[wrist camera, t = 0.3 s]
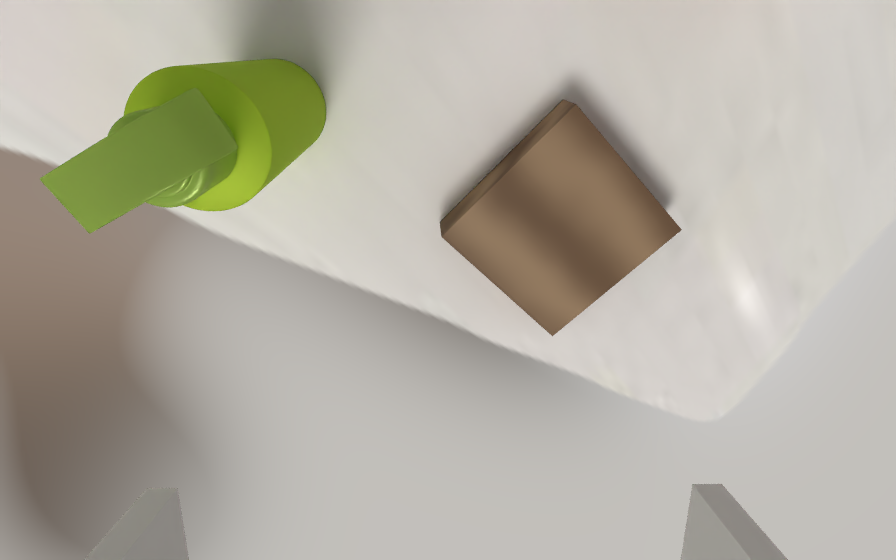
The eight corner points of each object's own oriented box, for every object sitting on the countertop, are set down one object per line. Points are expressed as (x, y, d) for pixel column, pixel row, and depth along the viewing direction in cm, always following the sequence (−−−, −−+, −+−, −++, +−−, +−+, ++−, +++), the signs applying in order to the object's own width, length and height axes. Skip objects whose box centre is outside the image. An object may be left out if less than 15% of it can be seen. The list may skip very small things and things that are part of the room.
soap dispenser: (356, 120, 32) (276, 212, 14) (270, 167, 33) (95, 309, 15) (306, 32, 30) (132, 8, 12) (215, 87, 31) (-72, 142, 13)
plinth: (562, 99, 32) (576, 104, 29) (662, 216, 36) (681, 229, 34) (439, 222, 35) (441, 236, 33) (543, 316, 40) (552, 336, 37)
